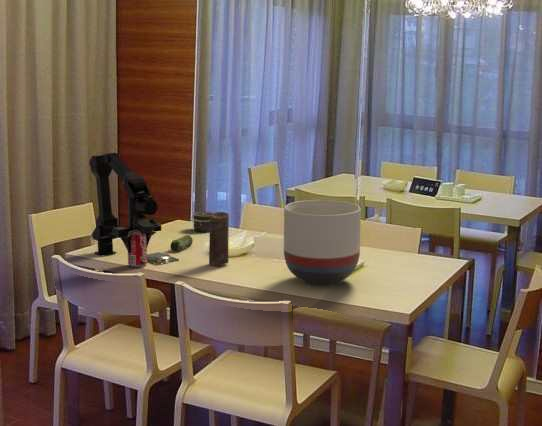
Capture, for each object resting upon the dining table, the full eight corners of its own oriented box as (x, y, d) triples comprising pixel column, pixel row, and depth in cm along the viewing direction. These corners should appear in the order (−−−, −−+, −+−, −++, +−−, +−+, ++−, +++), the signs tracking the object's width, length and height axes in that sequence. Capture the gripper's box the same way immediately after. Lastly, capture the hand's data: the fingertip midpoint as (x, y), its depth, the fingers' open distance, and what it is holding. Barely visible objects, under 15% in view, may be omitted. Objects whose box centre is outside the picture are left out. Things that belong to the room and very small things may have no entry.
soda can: (143, 268, 309) (142, 234, 306) (125, 267, 310) (124, 233, 307) (149, 263, 316) (149, 230, 313) (131, 262, 317) (131, 229, 314)
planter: (371, 289, 284) (373, 212, 279) (297, 296, 277) (297, 217, 271) (342, 268, 310) (344, 198, 304) (274, 274, 302) (274, 202, 296)
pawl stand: (137, 257, 324) (137, 254, 323) (158, 253, 330) (158, 250, 330) (157, 265, 314) (157, 261, 313) (178, 260, 320) (178, 257, 320)
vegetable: (179, 253, 331) (179, 241, 330) (168, 252, 333) (168, 240, 332) (196, 245, 344) (195, 234, 342) (184, 244, 345) (184, 232, 344)
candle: (232, 263, 316) (232, 212, 312) (223, 268, 309) (222, 216, 305) (214, 261, 319) (214, 210, 315) (205, 266, 313) (204, 214, 308)
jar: (190, 232, 366) (190, 215, 364) (196, 227, 375) (196, 211, 374) (212, 233, 364) (212, 216, 362) (217, 228, 374) (217, 212, 372)
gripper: (126, 217, 296) (127, 260, 299) (169, 211, 308) (170, 251, 311) (110, 213, 304) (111, 254, 307) (152, 206, 316) (153, 246, 320)
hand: (137, 251), depth 311 cm, fingers closed on soda can, 6 cm apart
